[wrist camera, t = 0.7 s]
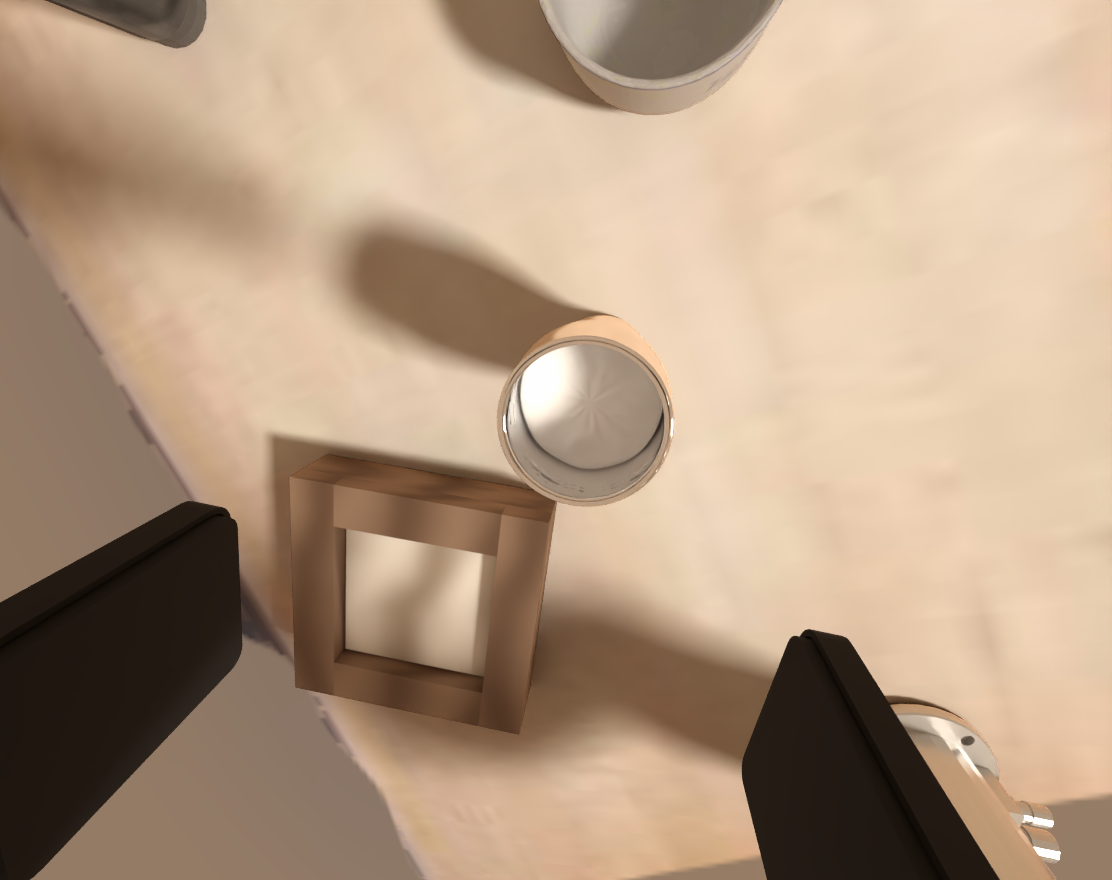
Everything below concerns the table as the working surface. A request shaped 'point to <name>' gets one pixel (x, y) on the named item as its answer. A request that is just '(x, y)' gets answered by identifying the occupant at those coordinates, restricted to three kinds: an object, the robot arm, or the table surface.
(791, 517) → the table surface
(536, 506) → the frame
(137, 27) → the beverage cup
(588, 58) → the teacup
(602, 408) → the beer glass
